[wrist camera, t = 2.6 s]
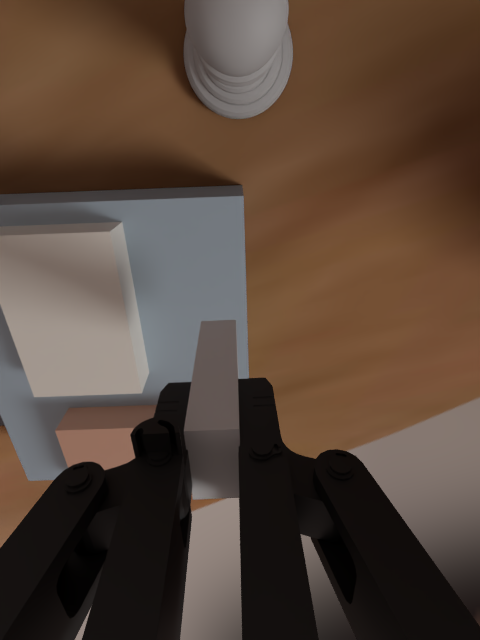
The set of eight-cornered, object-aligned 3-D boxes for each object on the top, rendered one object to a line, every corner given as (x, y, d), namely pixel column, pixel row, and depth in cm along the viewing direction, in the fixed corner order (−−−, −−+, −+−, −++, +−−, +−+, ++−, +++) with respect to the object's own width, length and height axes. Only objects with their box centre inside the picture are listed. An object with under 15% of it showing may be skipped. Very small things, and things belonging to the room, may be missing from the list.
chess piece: (163, 67, 19) (109, 17, 11) (230, -42, 17) (225, -202, 9) (244, 142, 20) (251, 148, 12) (313, 50, 18) (374, -14, 10)
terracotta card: (210, 402, 23) (208, 425, 22) (216, 469, 26) (214, 494, 24) (68, 407, 23) (55, 430, 22) (89, 473, 26) (79, 498, 24)
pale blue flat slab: (242, 185, 21) (243, 195, 18) (249, 432, 30) (251, 473, 26) (-35, 195, 21) (-90, 208, 18) (53, 439, 30) (28, 480, 26)
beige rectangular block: (122, 221, 18) (109, 231, 16) (149, 372, 22) (141, 393, 20) (0, 226, 18) (-25, 236, 16) (50, 375, 22) (34, 397, 20)
